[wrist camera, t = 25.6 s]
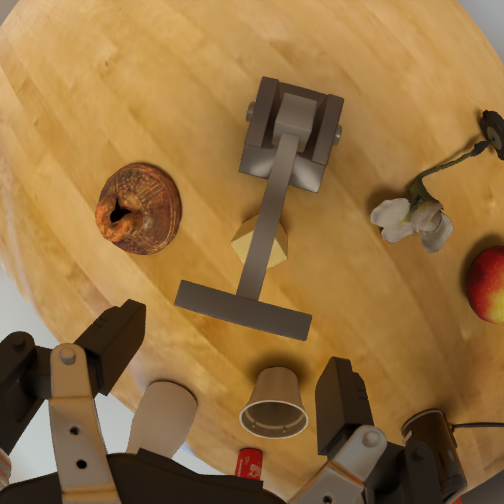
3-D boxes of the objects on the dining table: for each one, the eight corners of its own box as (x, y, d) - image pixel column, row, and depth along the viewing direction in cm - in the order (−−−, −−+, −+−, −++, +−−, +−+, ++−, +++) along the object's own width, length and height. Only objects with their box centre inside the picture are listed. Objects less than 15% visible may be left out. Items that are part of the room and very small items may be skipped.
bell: (91, 201, 36) (57, 213, 29) (148, 144, 32) (116, 145, 25) (137, 268, 38) (111, 291, 31) (201, 219, 35) (181, 237, 28)
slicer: (316, 191, 32) (341, 227, 17) (240, 170, 32) (200, 189, 18) (341, 101, 28) (385, 64, 13) (263, 80, 28) (243, 25, 14)
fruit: (493, 222, 30) (536, 244, 20) (513, 271, 31) (548, 299, 22) (446, 272, 33) (482, 307, 24) (470, 316, 35) (500, 353, 26)
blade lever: (298, 339, 15) (309, 342, 13) (180, 307, 15) (170, 304, 13) (340, 132, 19) (350, 111, 16) (249, 108, 19) (251, 84, 16)
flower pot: (247, 396, 44) (239, 436, 36) (246, 355, 41) (238, 397, 33) (303, 399, 43) (303, 440, 35) (310, 358, 40) (313, 402, 32)
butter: (270, 207, 33) (266, 222, 26) (287, 236, 34) (287, 259, 27) (241, 223, 34) (229, 243, 27) (258, 251, 35) (251, 277, 28)
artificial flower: (496, 159, 28) (540, 192, 20) (376, 232, 37) (401, 283, 29) (481, 103, 24) (532, 125, 16) (347, 181, 33) (372, 224, 25)
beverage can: (237, 446, 50) (228, 493, 39) (261, 447, 50) (255, 495, 38) (241, 457, 52) (232, 501, 41) (264, 458, 51) (258, 503, 40)
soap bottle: (177, 374, 44) (126, 487, 23) (208, 410, 47) (175, 516, 25) (138, 383, 47) (84, 478, 25) (169, 416, 49) (130, 508, 28)
